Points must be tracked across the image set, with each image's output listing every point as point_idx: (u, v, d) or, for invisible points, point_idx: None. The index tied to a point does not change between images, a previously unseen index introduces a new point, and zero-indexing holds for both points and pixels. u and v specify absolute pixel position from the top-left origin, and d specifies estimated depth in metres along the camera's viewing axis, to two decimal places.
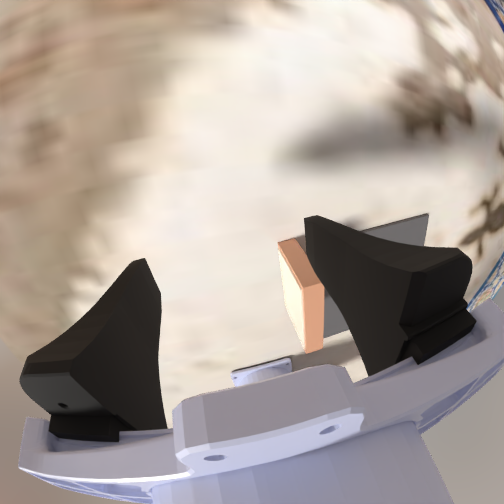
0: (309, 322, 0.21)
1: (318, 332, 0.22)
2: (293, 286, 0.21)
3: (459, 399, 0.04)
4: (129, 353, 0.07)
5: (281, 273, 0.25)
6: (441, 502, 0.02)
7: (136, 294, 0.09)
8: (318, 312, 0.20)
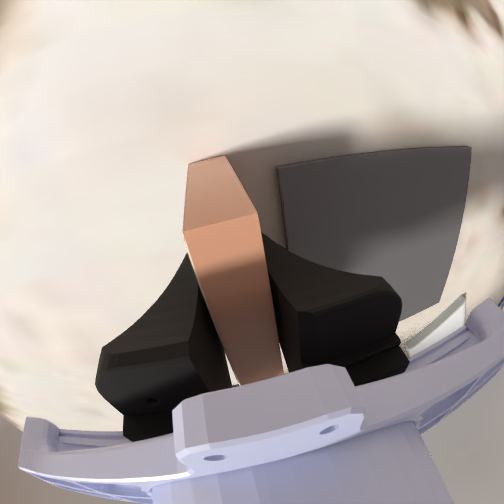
0: (236, 342, 0.08)
1: (268, 365, 0.09)
2: None
3: (459, 399, 0.04)
4: (211, 337, 0.07)
5: None
6: (441, 502, 0.02)
7: None
8: (257, 317, 0.07)
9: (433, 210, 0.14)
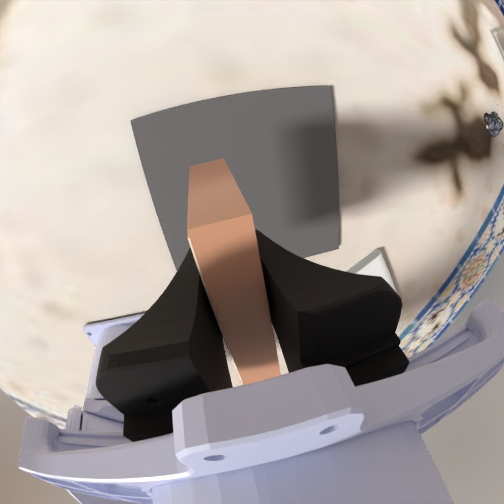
0: (233, 330, 0.09)
1: (264, 352, 0.09)
2: None
3: (459, 399, 0.04)
4: (212, 337, 0.07)
5: None
6: (441, 502, 0.02)
7: None
8: (252, 306, 0.08)
9: (288, 143, 0.18)
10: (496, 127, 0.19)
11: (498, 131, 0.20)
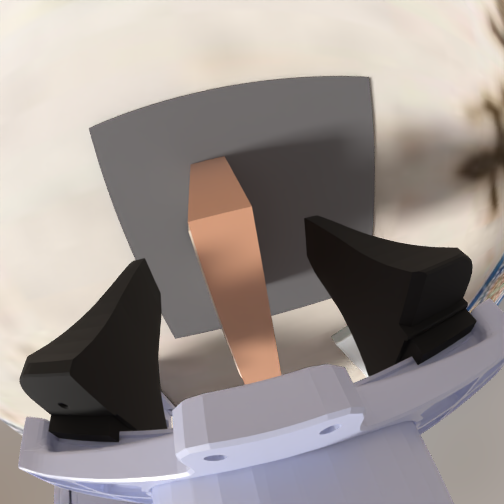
0: (233, 324, 0.09)
1: (264, 348, 0.10)
2: None
3: (459, 399, 0.04)
4: (129, 353, 0.07)
5: None
6: (441, 502, 0.02)
7: (136, 294, 0.09)
8: (252, 299, 0.08)
9: (312, 156, 0.13)
10: None
11: None
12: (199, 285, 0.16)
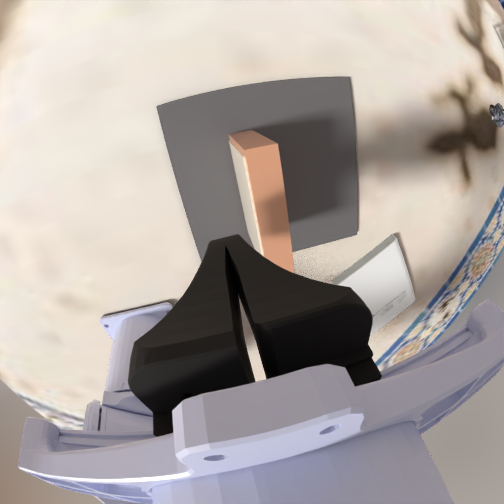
0: (264, 220, 0.14)
1: (283, 243, 0.15)
2: (241, 170, 0.15)
3: (459, 399, 0.04)
4: (239, 330, 0.08)
5: None
6: (441, 502, 0.02)
7: (228, 271, 0.09)
8: (277, 201, 0.14)
9: (310, 131, 0.18)
10: (501, 118, 0.19)
11: (503, 122, 0.20)
12: (229, 225, 0.21)
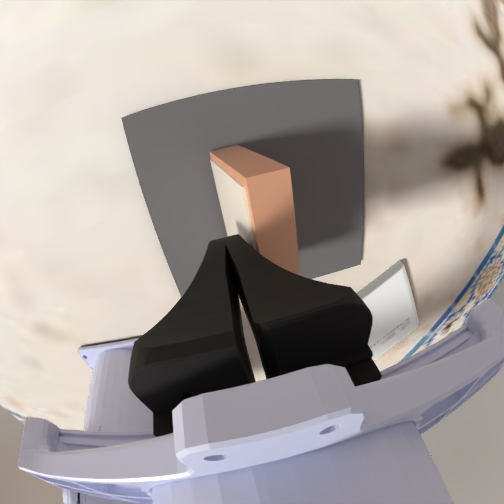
0: None
1: None
2: (233, 202, 0.11)
3: (459, 399, 0.04)
4: (240, 330, 0.08)
5: (220, 205, 0.15)
6: (441, 502, 0.02)
7: (228, 272, 0.09)
8: (286, 243, 0.11)
9: (310, 146, 0.15)
10: None
11: None
12: None
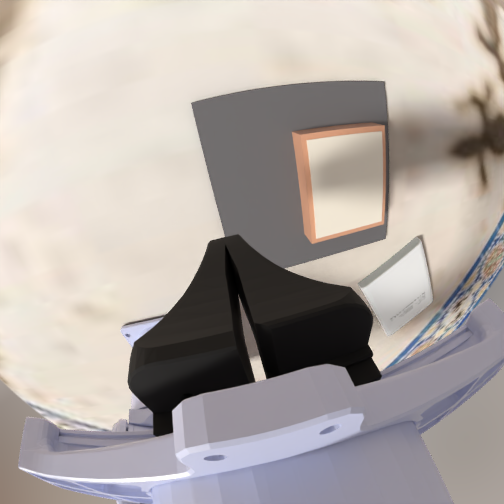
0: None
1: None
2: (361, 149, 0.16)
3: (459, 399, 0.04)
4: (240, 330, 0.08)
5: (312, 180, 0.17)
6: (441, 502, 0.02)
7: (228, 272, 0.09)
8: None
9: None
10: None
11: None
12: (264, 230, 0.20)
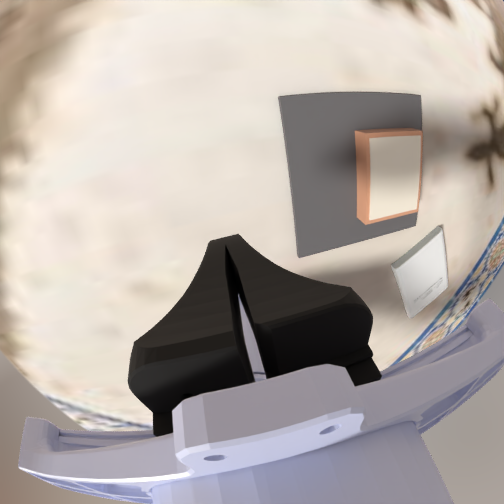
0: None
1: None
2: (406, 149, 0.19)
3: (459, 399, 0.04)
4: (239, 330, 0.08)
5: (371, 171, 0.20)
6: (441, 502, 0.02)
7: (228, 271, 0.09)
8: None
9: None
10: None
11: None
12: (327, 212, 0.23)
